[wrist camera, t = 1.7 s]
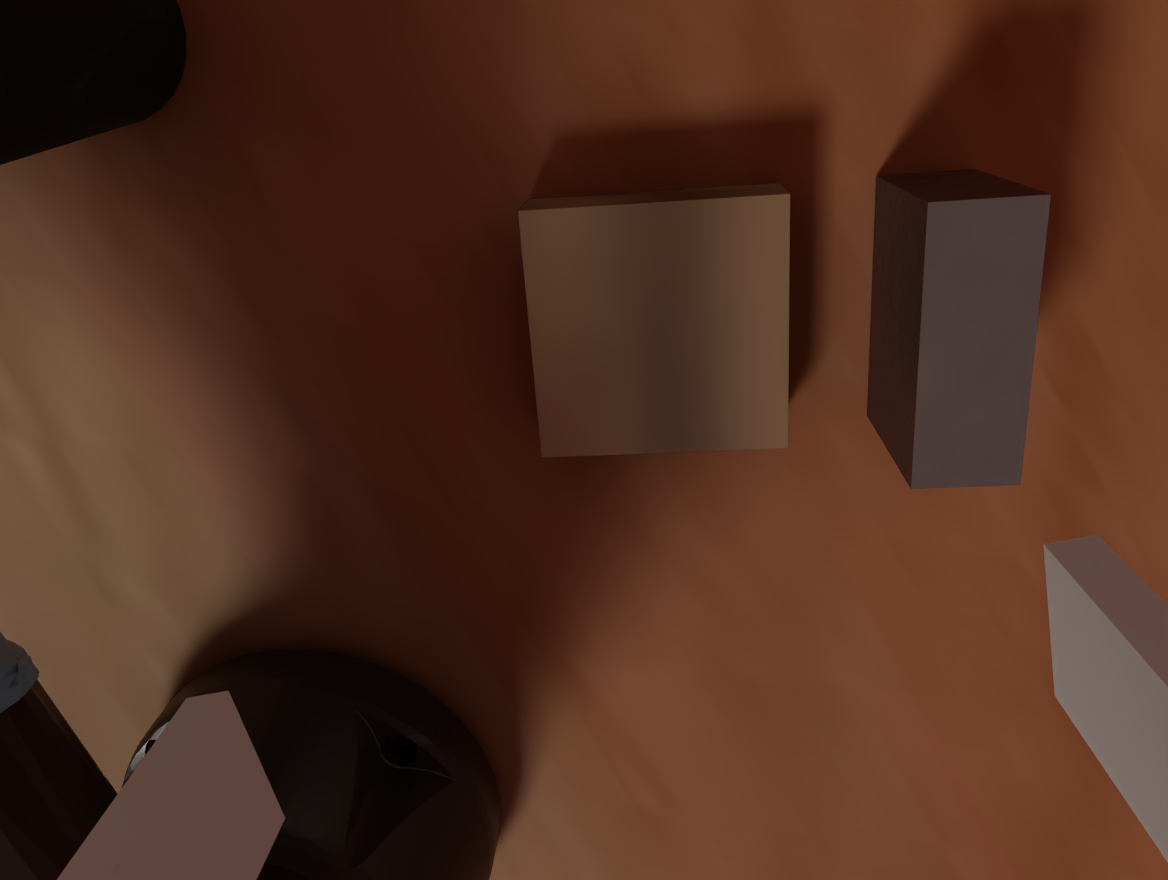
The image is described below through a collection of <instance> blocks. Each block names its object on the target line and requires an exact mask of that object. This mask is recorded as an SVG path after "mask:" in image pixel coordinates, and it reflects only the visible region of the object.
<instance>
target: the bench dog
mask: <svg viewBox="0 0 1168 880" xmlns="http://www.w3.org/2000/svg"><path fill="white" fill-rule="evenodd" d="M1050 199H1051V194H1048V193H1045V192H1042V191H1039V190H1036V189H1033V188H1030V187H1027V186H1024V185H1021V184H1018V183H1015V182H1012V181H1009V180H1006V179H1003V178H1000V177H997V176H994V175H991V174H988V173H985V172H982V171H979V170H976V169H974V170H959V171H944V172H929V173H915V174H900V175H885V176H876V194H875V220H874V246H873V272H872V298H871V324H870V350H869V376H868V402H867V417H868V418H869V420H870V422H871V423H872V425H873V426H874V428H875V430H876V431H877V433H878V435H879V436H880V438H881V440H882V441H883V443H884V445H885V446H886V448H887V450H888V451H889V453H890V455H891V456H892V458H893V460H894V461H895V463H896V465H897V466H898V468H899V470H900V471H901V473H902V475H903V476H904V478H905V480H906V481H907V483H908V485H909V486H910V488H911V489H922V488H948V487H975V486H1002V485H1020V483H1021V474H1022V464H1023V455H1024V445H1025V436H1026V426H1027V417H1028V407H1029V398H1030V388H1031V379H1032V370H1033V360H1034V351H1035V341H1036V332H1037V322H1038V313H1039V303H1040V294H1041V284H1042V275H1043V266H1044V256H1045V247H1046V237H1047V228H1048V218H1049V209H1050Z"/></svg>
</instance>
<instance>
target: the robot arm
mask: <svg viewBox="0 0 1168 880" xmlns="http://www.w3.org/2000/svg"><path fill="white" fill-rule="evenodd" d="M1044 556H1045V569H1046V583H1047V596H1048V610H1049V624H1050V637H1051V651H1052V664H1053V678H1054V691H1055V697H1056V698H1057V700H1058V701H1059V703H1060V704H1061V706H1062V707H1063V708H1064V710H1065V711H1066V713H1067V714H1068V716H1069V717H1070V719H1071V720H1072V722H1073V723H1074V725H1075V726H1076V728H1077V729H1078V731H1079V732H1080V734H1081V735H1082V737H1083V738H1084V740H1085V741H1086V742H1087V744H1088V745H1089V747H1090V748H1091V750H1092V751H1093V753H1094V754H1095V756H1096V757H1097V759H1098V760H1099V762H1100V763H1101V765H1102V766H1103V768H1104V769H1105V771H1106V772H1107V773H1108V775H1109V776H1110V778H1111V779H1112V781H1113V782H1114V784H1115V785H1116V787H1117V788H1118V790H1119V791H1120V793H1121V794H1122V796H1123V797H1124V799H1125V800H1126V802H1127V803H1128V805H1129V806H1130V807H1131V809H1132V810H1133V812H1134V813H1135V815H1136V816H1137V818H1138V819H1139V821H1140V822H1141V824H1142V825H1143V827H1144V828H1145V830H1146V831H1147V833H1148V834H1149V836H1150V837H1151V838H1152V840H1153V841H1154V843H1155V844H1156V846H1157V847H1158V849H1159V850H1160V852H1161V853H1162V855H1163V856H1164V858H1165V859H1166V861H1167V862H1168V604H1167V603H1166V602H1165V601H1164V600H1163V599H1162V598H1161V597H1160V596H1159V595H1158V594H1157V593H1156V592H1155V591H1154V590H1153V589H1152V588H1151V587H1150V586H1149V585H1148V584H1147V583H1146V582H1145V581H1144V580H1143V579H1142V578H1141V577H1140V576H1139V575H1138V574H1136V573H1135V572H1134V571H1133V570H1132V569H1131V568H1130V567H1129V566H1128V565H1127V564H1126V563H1125V562H1124V561H1123V560H1122V559H1121V558H1120V557H1119V556H1118V555H1117V554H1116V553H1115V552H1114V551H1113V550H1112V549H1111V548H1110V547H1109V546H1108V545H1107V544H1106V543H1105V542H1104V541H1103V540H1102V539H1101V538H1100V537H1099V536H1098V535H1092V536H1087V537H1081V538H1076V539H1070V540H1064V541H1059V542H1053V543H1048V544H1044ZM38 676H39V671H38V669H37V668H36V667H35V665H34V664H33V663H32V660H31V657H30V656H29V655H27V653H26V651H25V650H24V648H22V647H21V646H19V645H17V644H16V643H14V642H11V641H9V640H6V638H5V637H4V636H3V635H2V633H1V632H0V880H489V878H490V875H491V871H492V866H493V861H494V856H495V851H496V846H497V841H498V836H499V831H500V822H501V808H500V799H499V793H498V788H497V784H496V781H495V777H494V775H493V772H492V769H491V767H490V765H489V763H488V760H487V758H486V756H485V755H484V753H483V751H482V749H481V748H480V746H479V744H478V743H477V741H476V740H475V739H474V737H473V736H472V734H471V733H470V732H469V731H468V729H467V728H466V727H465V726H464V724H463V723H462V722H461V721H460V720H459V719H458V718H457V717H456V716H455V715H454V714H453V713H452V712H451V711H450V710H449V709H448V708H447V707H446V706H445V705H443V704H442V703H441V702H440V701H438V700H437V699H436V698H435V697H433V696H432V695H431V694H429V693H428V692H427V691H425V690H424V689H422V688H421V687H419V686H417V685H416V684H414V683H413V682H411V681H409V680H407V679H405V678H404V677H402V676H400V675H398V674H396V673H394V672H392V671H389V670H387V669H385V668H382V667H380V666H377V665H375V664H372V663H369V662H366V661H363V660H360V659H356V658H353V657H349V656H345V655H340V654H335V653H329V652H322V651H313V650H275V651H267V652H260V653H255V654H250V655H246V656H242V657H238V658H235V659H232V660H230V661H227V662H224V663H222V664H220V665H217V666H215V667H213V668H211V669H209V670H207V671H206V672H204V673H202V674H201V675H199V676H198V677H196V678H195V679H193V680H192V681H191V682H189V683H188V684H187V685H186V686H184V687H183V688H182V689H181V690H180V691H179V692H178V693H177V694H176V695H175V696H174V698H173V699H172V700H171V701H170V702H169V703H168V705H167V706H166V707H165V709H164V710H163V711H162V713H161V714H160V715H159V717H158V718H157V719H156V721H155V722H154V723H153V725H152V726H151V727H150V729H149V730H148V731H147V733H146V734H145V736H144V737H143V738H142V740H141V741H140V743H139V745H138V747H137V749H136V750H135V752H134V754H133V756H132V759H131V761H130V763H129V766H128V768H127V771H126V775H125V778H124V782H123V785H122V789H121V790H120V792H119V793H118V794H117V792H116V791H115V790H114V788H113V787H112V785H111V784H110V783H109V781H108V780H107V778H106V777H105V775H104V774H103V773H102V771H101V770H100V768H99V767H98V765H97V764H96V763H95V761H94V760H93V758H92V757H91V755H90V754H89V753H88V751H87V750H86V748H85V747H84V745H83V744H82V743H81V741H80V740H79V738H78V737H77V735H76V734H75V733H74V731H73V730H72V728H71V727H70V725H69V724H68V723H67V721H66V720H65V718H64V717H63V715H62V714H61V713H60V711H59V710H58V708H57V707H56V705H55V704H54V703H53V701H52V700H51V698H50V697H49V696H48V694H47V693H46V691H45V690H44V688H43V687H42V686H41V684H40V683H39V681H38V680H37V678H38Z"/></svg>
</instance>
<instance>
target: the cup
mask: <svg viewBox="0 0 1168 880" xmlns="http://www.w3.org/2000/svg"><path fill="white" fill-rule="evenodd" d="M185 60H186V31H185V27H184V24H183V20H182V16H181V12H180V8H179V6H178V4H177V2H176V0H0V165H2V164H5V163H8V162H11V161H14V160H18V159H21V158H24V157H27V156H30V155H33V154H37V153H40V152H43V151H46V150H49V149H52V148H56V147H59V146H62V145H65V144H68V143H72V142H75V141H78V140H81V139H84V138H87V137H91V136H94V135H97V134H100V133H103V132H106V131H110V130H113V129H116V128H119V127H122V126H125V125H129V124H132V123H135V122H138V121H141V120H145V119H146V118H148V117H149V116H151V115H152V114H154V113H156V112H157V111H159V110H160V109H161V108H162V107H163V106H164V105H165V104H166V103H167V102H168V100H169V99H170V98H171V97H172V96H173V95H174V93H175V91H176V88H177V86H178V84H179V82H180V80H181V78H182V75H183V70H184V65H185Z"/></svg>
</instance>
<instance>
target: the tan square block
mask: <svg viewBox="0 0 1168 880" xmlns="http://www.w3.org/2000/svg"><path fill="white" fill-rule="evenodd" d="M518 217H519V228H520V238H521V249H522V259H523V269H524V280H525V290H526V300H527V311H528V321H529V332H530V342H531V352H532V363H533V373H534V384H535V394H536V404H537V415H538V425H539V436H540V446H541V456H542V458H547V457H573V456H599V455H625V454H651V453H677V452H704V451H730V450H756V449H782V448H788V378H789V272H790V193H789V192H788V191H787V190H786V189H785V188H784V187H783V186H782V185H781V184H780V183H770V184H754V185H739V186H723V187H708V188H692V189H677V190H662V191H646V192H631V193H615V194H600V195H584V196H569V197H553V198H538V199H529V200H528V201H527V202H526V203H525V204H524V205H523V206H522V207H521V208H520V209H519V210H518Z"/></svg>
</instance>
